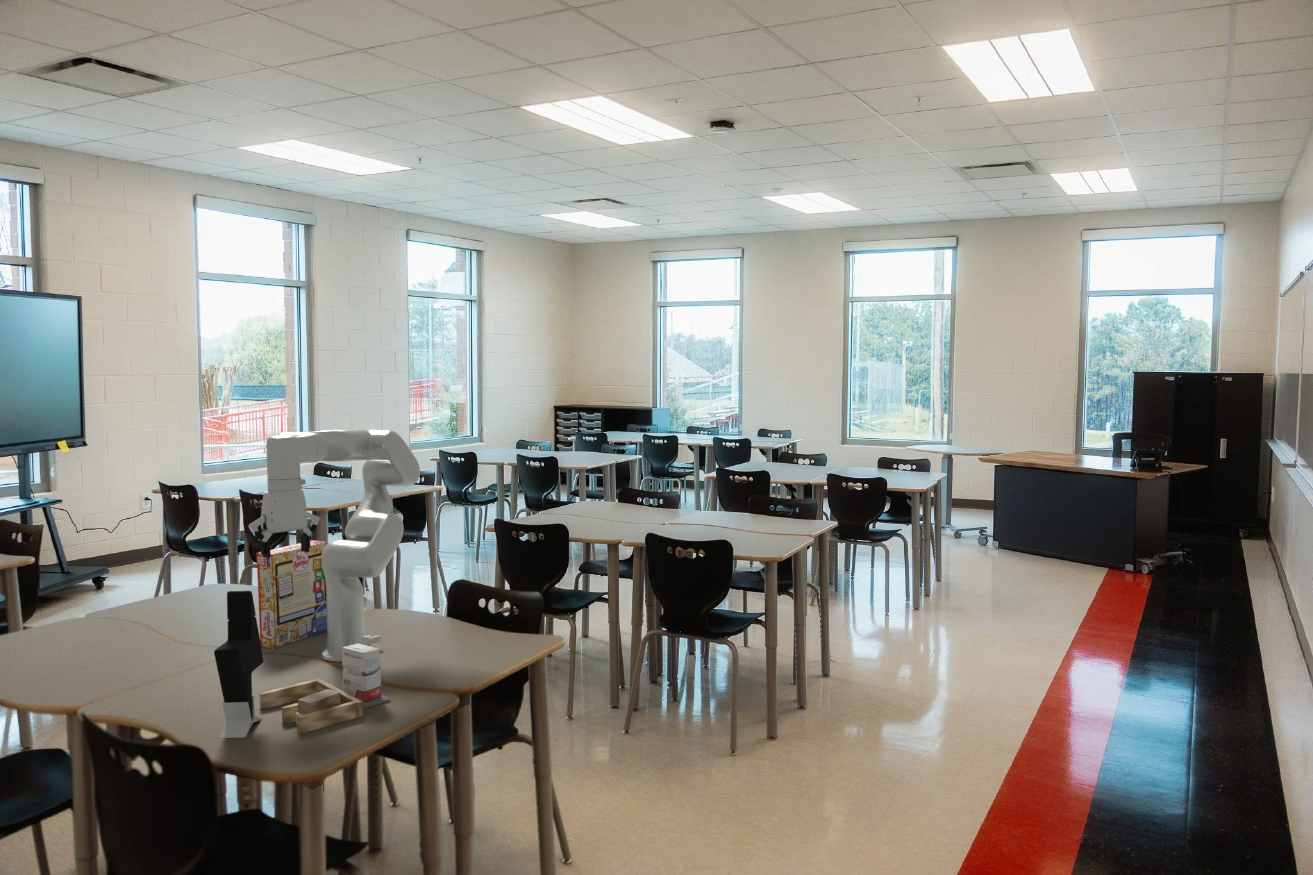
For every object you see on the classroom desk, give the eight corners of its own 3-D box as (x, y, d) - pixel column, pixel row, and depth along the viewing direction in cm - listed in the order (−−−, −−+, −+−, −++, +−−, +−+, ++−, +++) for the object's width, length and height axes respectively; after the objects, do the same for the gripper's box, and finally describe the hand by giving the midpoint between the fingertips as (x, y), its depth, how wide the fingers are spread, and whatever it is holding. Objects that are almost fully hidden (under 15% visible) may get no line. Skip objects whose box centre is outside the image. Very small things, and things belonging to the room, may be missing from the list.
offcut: (328, 701, 208) (327, 688, 207) (340, 705, 205) (340, 692, 205) (298, 712, 201) (297, 699, 201) (310, 716, 199) (310, 703, 198)
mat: (365, 688, 224) (365, 685, 224) (390, 700, 215) (390, 698, 215) (334, 696, 218) (334, 694, 218) (358, 709, 210) (358, 707, 210)
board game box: (315, 628, 276) (312, 539, 274) (330, 630, 273) (328, 541, 271) (258, 646, 257) (256, 551, 255) (274, 649, 255) (271, 553, 253)
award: (242, 714, 207) (238, 584, 204) (266, 714, 207) (262, 583, 205) (215, 742, 192) (210, 601, 189) (241, 741, 192) (237, 600, 190)
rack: (318, 692, 221) (318, 678, 221) (362, 716, 206) (362, 701, 205) (259, 707, 211) (258, 692, 211) (301, 734, 196) (300, 718, 195)
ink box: (382, 696, 216) (381, 648, 216) (365, 702, 212) (364, 653, 212) (359, 689, 221) (358, 641, 220) (342, 695, 217) (340, 646, 216)
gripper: (311, 481, 234) (313, 547, 235) (242, 487, 221) (244, 557, 223) (324, 483, 228) (326, 551, 230) (254, 490, 216) (256, 561, 217)
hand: (286, 554), depth 226 cm, fingers open, 9 cm apart
